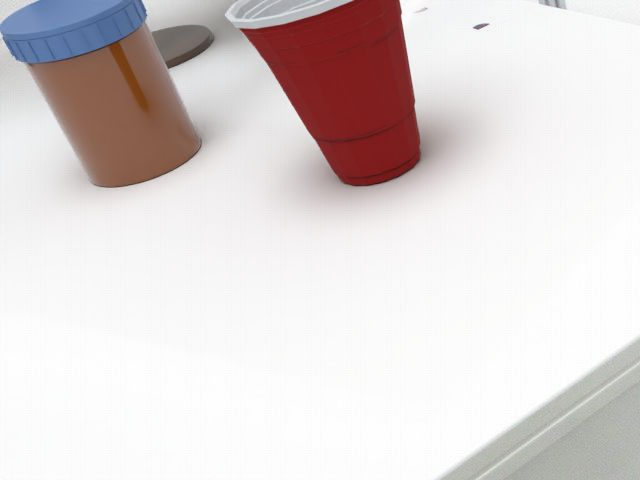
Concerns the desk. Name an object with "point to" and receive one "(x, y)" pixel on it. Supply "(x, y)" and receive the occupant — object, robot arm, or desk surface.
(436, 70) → the desk surface
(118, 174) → the jar
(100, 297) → the desk surface
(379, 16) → the plastic cup
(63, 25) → the lid
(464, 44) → the desk surface
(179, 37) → the coaster
